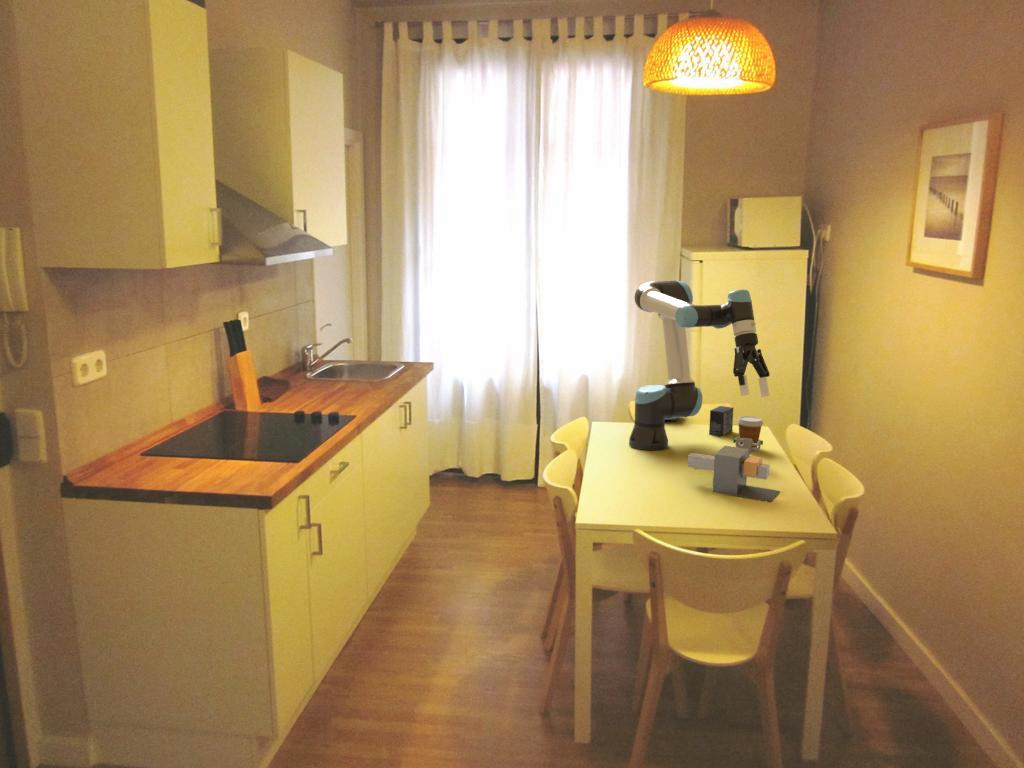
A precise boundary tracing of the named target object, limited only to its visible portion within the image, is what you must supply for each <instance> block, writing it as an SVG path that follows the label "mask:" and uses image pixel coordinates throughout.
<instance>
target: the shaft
mask: <svg viewBox="0 0 1024 768" xmlns="http://www.w3.org/2000/svg"><path fill="white" fill-rule="evenodd" d="M714 459H715V455H709V454H703V453H696V452H691V453H690V454H688V455H687V468H692V469H698V470H704V471H710V472H714ZM770 467H771V465H770V464H769V463H760V464H759V465H758V466H757V476H751V475H744V474H743V472H744V461H743V462H742V465H741V476H747V478H748V477H749V478H755V479H760V480H767V479H768V478H769V477H770V469H771V468H770Z"/></svg>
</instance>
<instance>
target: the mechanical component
mask: <svg viewBox="0 0 1024 768" xmlns="http://www.w3.org/2000/svg"><path fill="white" fill-rule="evenodd" d="M740 442H743V444H740ZM732 443H733V444H735V447H738V448H745V449H749V454H748V457H749V456H751V455H752V451H751V450H754V451H755V452H756V451H757V452H758V451H760V450H761V445H762V446H763V444H764V440H761V439H759V440H758V442H757V443H753V441H752V439H751V438H739V437H738V436H737V437H735V438H733V440H732ZM752 446H757V448H752Z"/></svg>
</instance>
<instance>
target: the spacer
mask: <svg viewBox="0 0 1024 768" xmlns="http://www.w3.org/2000/svg"><path fill="white" fill-rule="evenodd" d="M762 460H763V459H762V457H761V456H760V457H758V456H752V455H749V457H748V458H747V459H746V460H745V461H744V472H743V474H744V475H751V476H757V466H758V465H759V464H760V463H762V462H763V461H762Z"/></svg>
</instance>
